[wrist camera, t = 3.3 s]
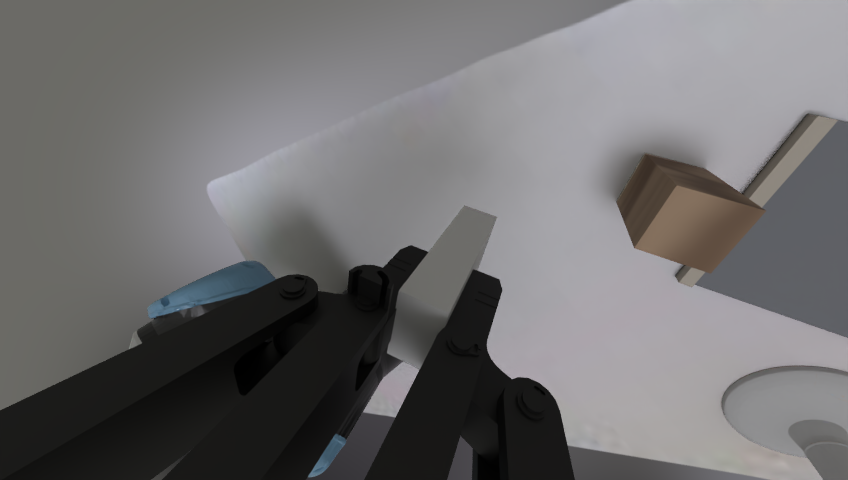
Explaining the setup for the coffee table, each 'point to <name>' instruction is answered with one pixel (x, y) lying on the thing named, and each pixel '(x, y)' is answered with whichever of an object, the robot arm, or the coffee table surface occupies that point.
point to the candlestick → (795, 414)
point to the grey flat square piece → (794, 232)
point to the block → (684, 213)
